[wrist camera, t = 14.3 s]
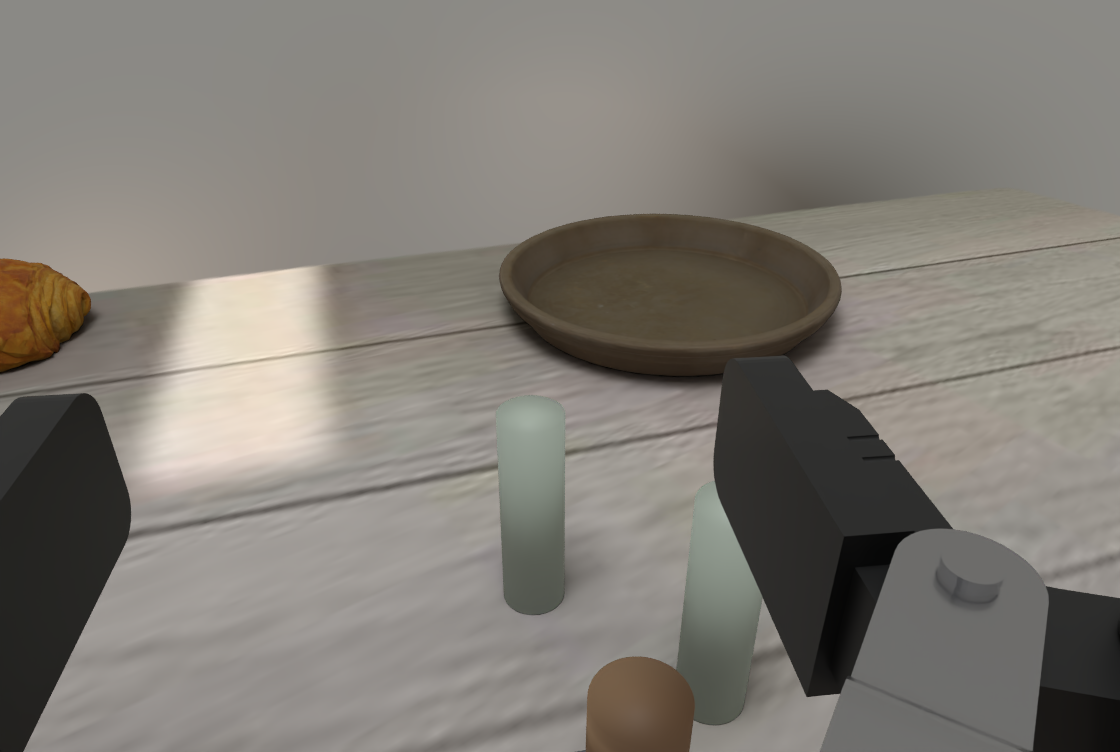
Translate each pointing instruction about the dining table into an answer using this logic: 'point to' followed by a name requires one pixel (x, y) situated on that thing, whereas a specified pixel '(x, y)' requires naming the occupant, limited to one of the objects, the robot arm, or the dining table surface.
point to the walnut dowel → (639, 708)
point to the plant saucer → (669, 291)
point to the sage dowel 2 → (717, 614)
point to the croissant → (36, 311)
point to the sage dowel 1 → (532, 501)
